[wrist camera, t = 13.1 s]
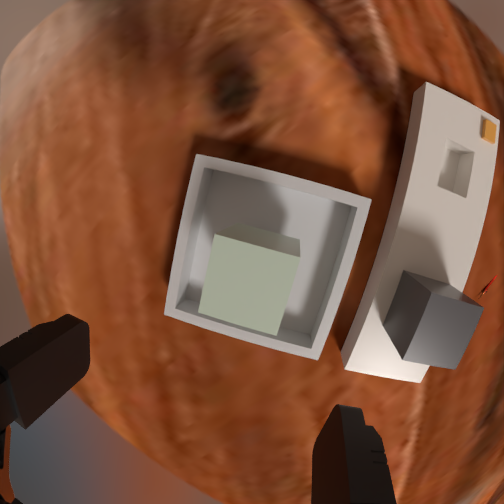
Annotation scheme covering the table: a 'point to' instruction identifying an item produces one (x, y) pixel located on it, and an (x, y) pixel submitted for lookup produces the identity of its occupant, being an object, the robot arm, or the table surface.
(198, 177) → the tray
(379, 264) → the flat gray board
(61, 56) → the table surface
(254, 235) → the block
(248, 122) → the table surface
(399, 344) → the block
